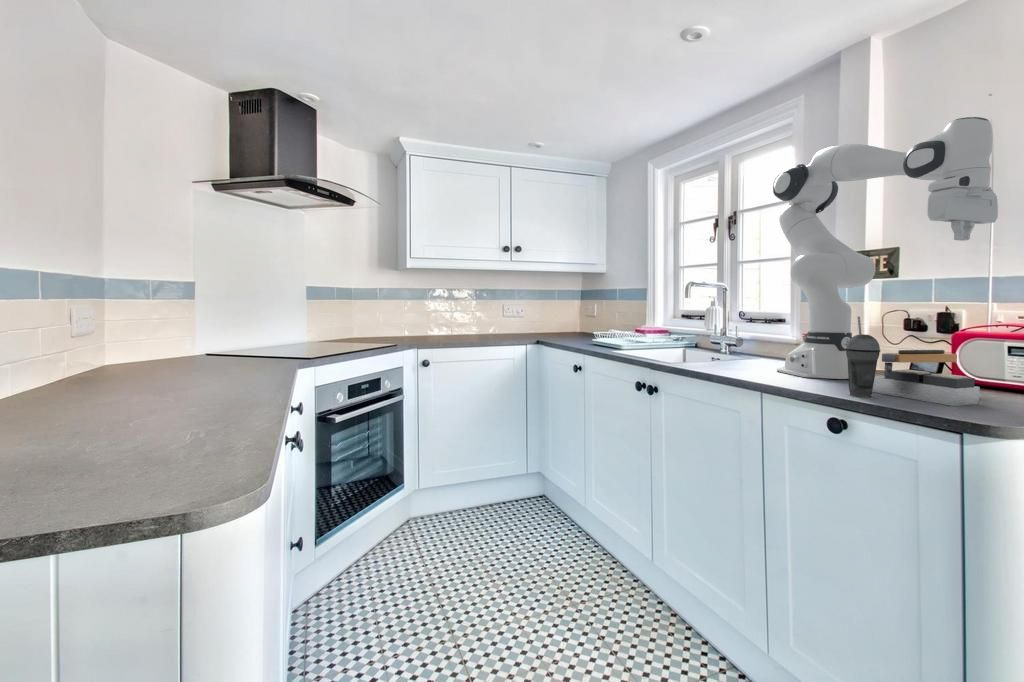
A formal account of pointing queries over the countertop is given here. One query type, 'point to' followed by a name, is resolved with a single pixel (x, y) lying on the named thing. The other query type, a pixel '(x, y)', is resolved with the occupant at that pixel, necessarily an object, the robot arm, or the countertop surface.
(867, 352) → the beverage cup
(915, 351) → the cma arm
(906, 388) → the stacked block stand
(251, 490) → the countertop surface
